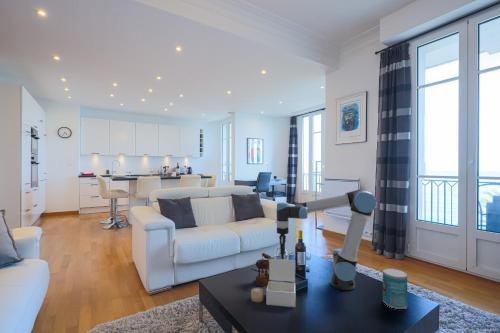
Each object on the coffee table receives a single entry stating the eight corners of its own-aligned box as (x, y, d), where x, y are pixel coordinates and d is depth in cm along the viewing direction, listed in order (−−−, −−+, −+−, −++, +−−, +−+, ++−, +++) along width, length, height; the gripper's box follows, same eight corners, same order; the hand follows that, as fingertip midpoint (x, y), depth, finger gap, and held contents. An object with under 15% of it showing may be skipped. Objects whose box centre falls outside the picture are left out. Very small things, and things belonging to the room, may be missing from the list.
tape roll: (264, 296, 153) (263, 288, 153) (262, 302, 146) (262, 294, 146) (252, 295, 154) (252, 287, 154) (250, 301, 147) (250, 292, 147)
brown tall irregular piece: (274, 279, 176) (274, 251, 174) (272, 288, 165) (272, 258, 163) (253, 277, 179) (252, 249, 177) (249, 285, 168) (249, 256, 166)
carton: (295, 296, 153) (295, 283, 153) (295, 307, 141) (295, 293, 141) (268, 294, 156) (268, 281, 156) (266, 304, 144) (266, 290, 144)
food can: (378, 302, 146) (378, 270, 146) (391, 296, 151) (391, 266, 151) (398, 312, 135) (398, 278, 135) (412, 306, 141) (412, 274, 141)
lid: (295, 281, 153) (295, 281, 154) (294, 260, 155) (294, 260, 156) (269, 279, 156) (269, 279, 157) (269, 258, 158) (269, 258, 159)
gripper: (277, 224, 171) (277, 259, 171) (275, 229, 158) (275, 267, 158) (288, 224, 169) (289, 260, 169) (287, 229, 156) (288, 268, 156)
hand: (282, 263), depth 164 cm, fingers closed
